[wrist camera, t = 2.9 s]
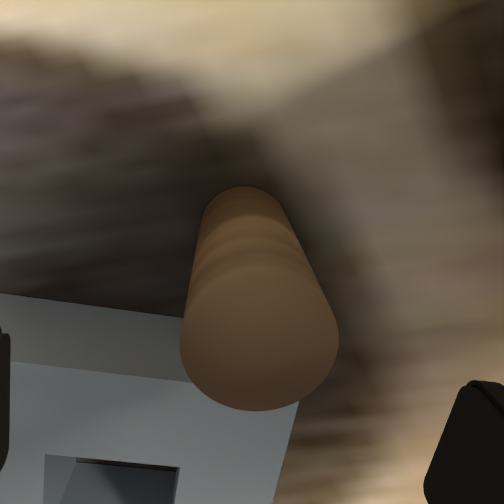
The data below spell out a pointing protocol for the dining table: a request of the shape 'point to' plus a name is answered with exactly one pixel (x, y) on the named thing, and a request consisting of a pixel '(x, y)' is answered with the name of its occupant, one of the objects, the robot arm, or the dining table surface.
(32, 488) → the socket block
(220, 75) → the dining table surface
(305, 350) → the peg
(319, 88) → the dining table surface
